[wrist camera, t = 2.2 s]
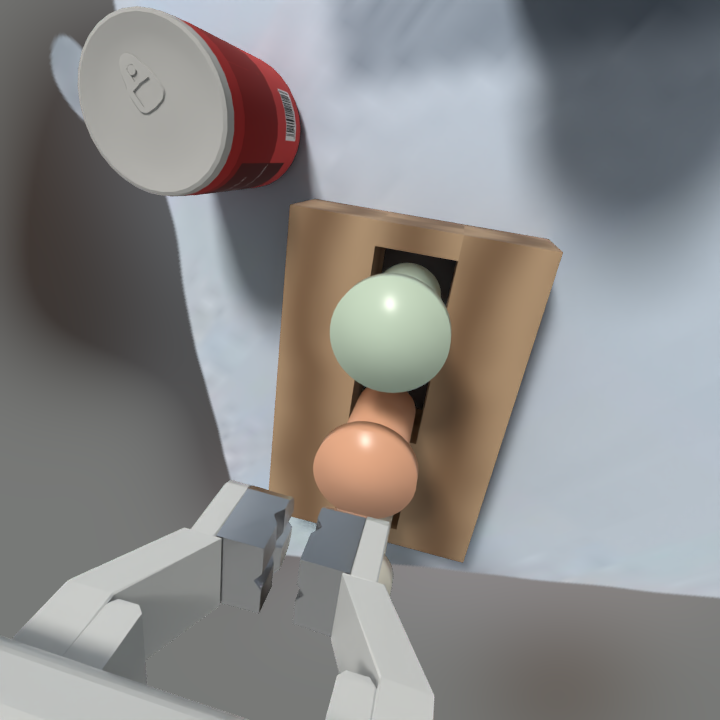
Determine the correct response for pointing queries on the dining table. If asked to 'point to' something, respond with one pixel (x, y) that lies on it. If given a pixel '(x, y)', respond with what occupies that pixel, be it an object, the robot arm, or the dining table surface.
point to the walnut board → (444, 392)
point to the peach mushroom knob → (370, 457)
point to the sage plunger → (392, 329)
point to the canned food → (183, 106)
